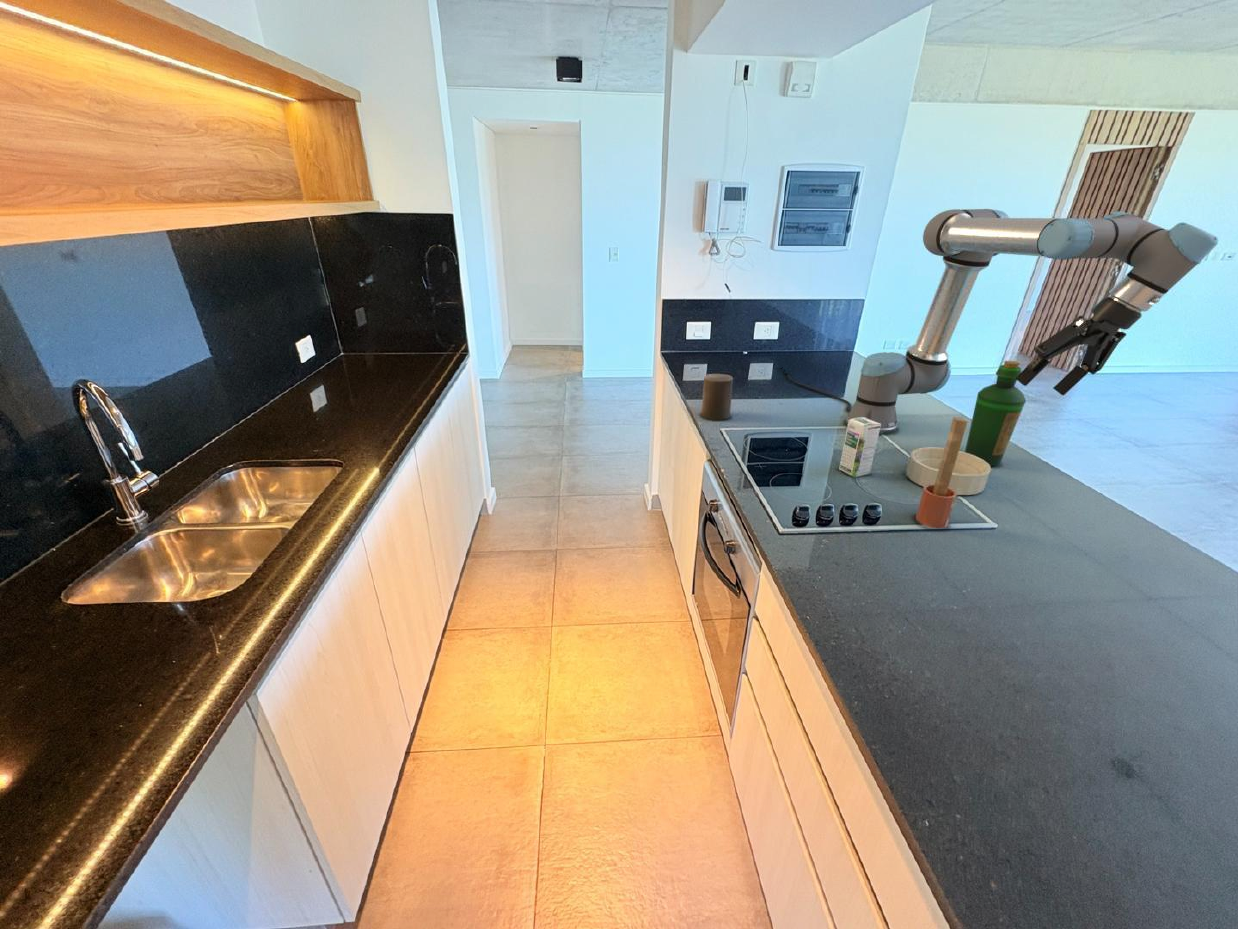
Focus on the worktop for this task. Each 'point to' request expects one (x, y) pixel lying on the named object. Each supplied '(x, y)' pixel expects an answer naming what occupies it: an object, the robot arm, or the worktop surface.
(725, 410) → the pillar candle
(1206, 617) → the worktop surface
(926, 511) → the utensil pot
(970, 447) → the bottle
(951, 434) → the stirring stick
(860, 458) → the syrup box
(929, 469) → the bowl
